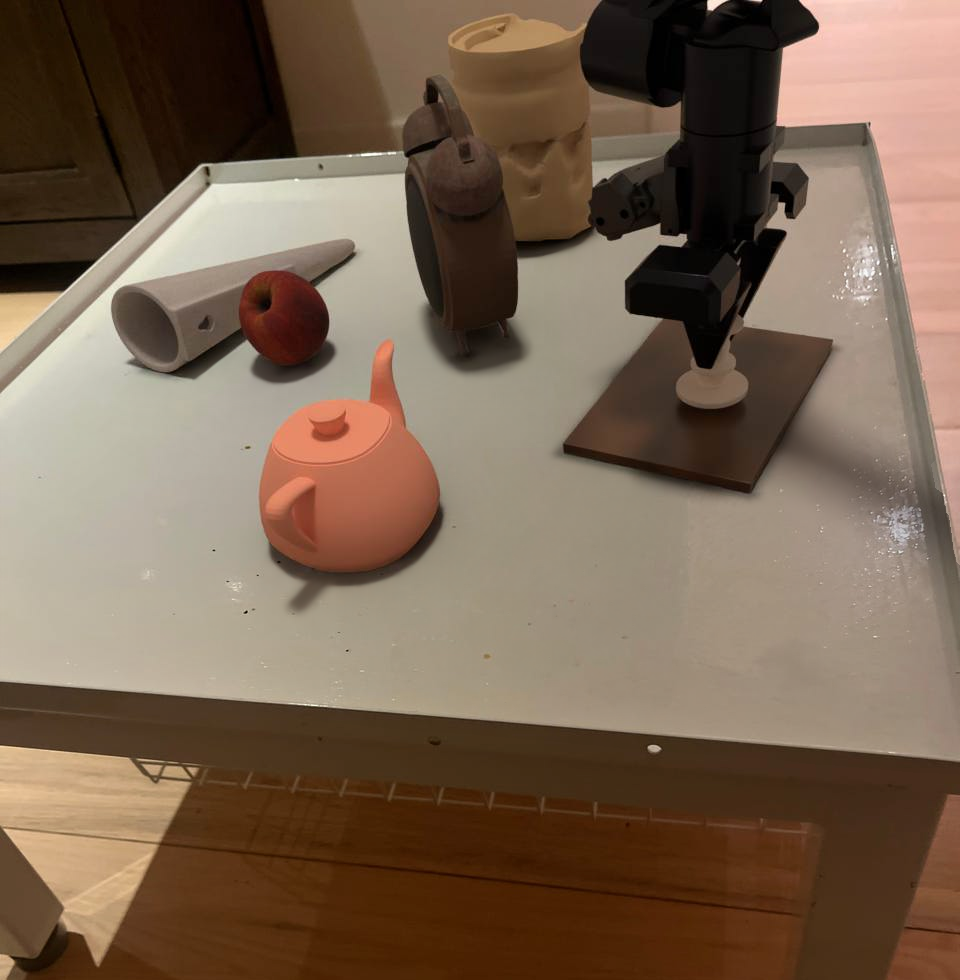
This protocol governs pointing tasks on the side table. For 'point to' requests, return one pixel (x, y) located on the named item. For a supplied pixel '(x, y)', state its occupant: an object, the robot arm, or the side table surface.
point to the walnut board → (697, 431)
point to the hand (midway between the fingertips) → (715, 353)
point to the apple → (283, 317)
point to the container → (530, 117)
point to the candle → (714, 380)
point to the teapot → (348, 481)
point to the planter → (203, 303)
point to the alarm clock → (458, 217)
